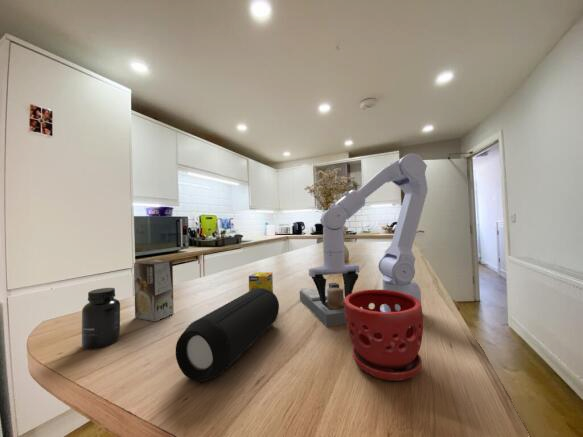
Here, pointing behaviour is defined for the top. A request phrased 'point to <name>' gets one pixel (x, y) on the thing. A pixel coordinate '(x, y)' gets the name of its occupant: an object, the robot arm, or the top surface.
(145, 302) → the coffee box
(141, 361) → the top surface
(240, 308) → the portable speaker
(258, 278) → the supplement box
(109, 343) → the supplement bottle
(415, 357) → the plant pot
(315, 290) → the sliding lid
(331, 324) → the socket plate
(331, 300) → the walnut peg
